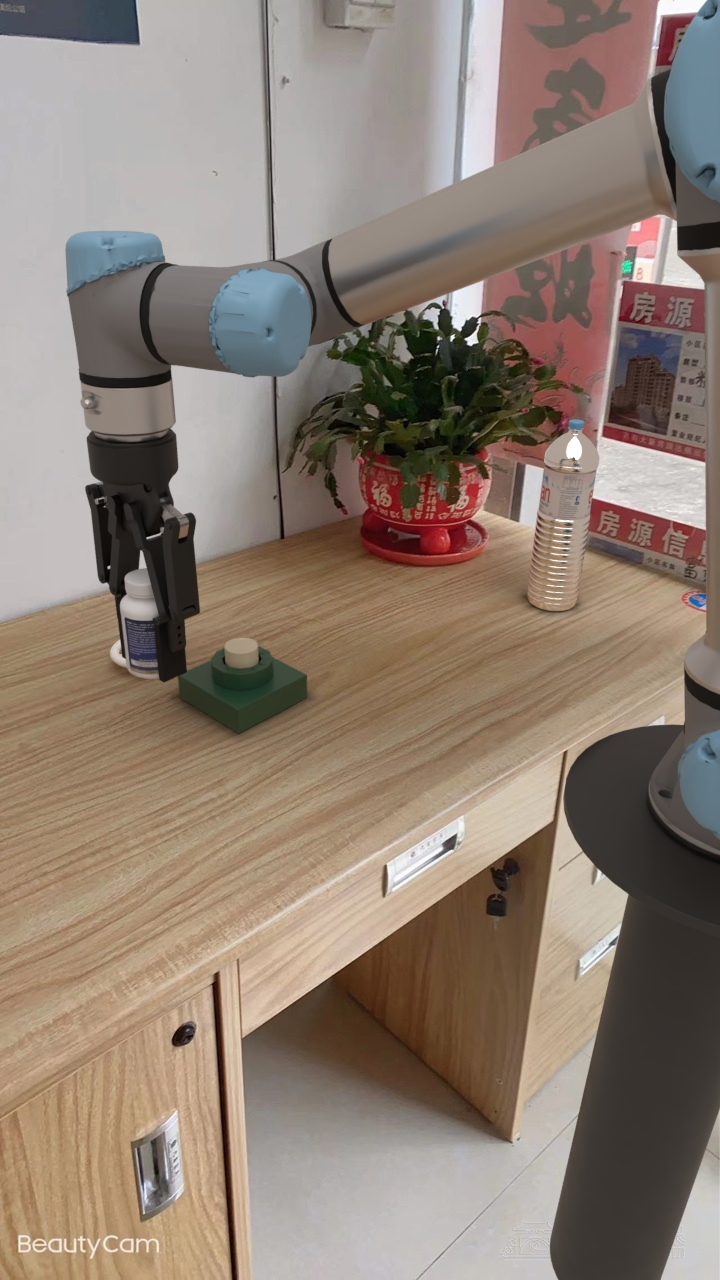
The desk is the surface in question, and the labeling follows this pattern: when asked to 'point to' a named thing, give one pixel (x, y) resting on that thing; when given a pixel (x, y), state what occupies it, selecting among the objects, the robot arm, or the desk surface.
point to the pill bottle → (139, 625)
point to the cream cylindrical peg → (241, 653)
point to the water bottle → (562, 520)
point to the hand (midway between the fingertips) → (154, 664)
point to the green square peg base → (242, 689)
